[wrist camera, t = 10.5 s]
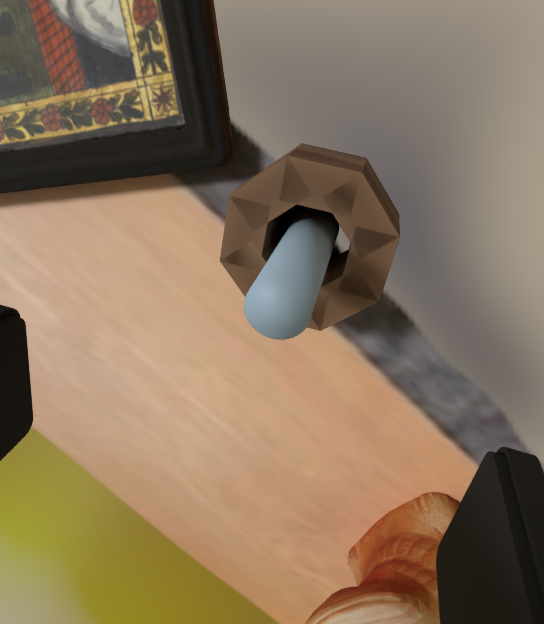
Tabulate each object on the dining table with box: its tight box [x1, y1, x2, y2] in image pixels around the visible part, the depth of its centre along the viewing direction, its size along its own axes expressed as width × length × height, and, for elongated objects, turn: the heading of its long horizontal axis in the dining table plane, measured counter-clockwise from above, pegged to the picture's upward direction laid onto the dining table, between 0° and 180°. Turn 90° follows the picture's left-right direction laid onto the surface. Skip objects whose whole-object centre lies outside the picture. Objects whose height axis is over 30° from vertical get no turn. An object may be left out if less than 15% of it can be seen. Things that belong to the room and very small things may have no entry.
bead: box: [220, 143, 400, 331], centre depth 29 cm, size 9×9×4 cm
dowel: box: [244, 207, 339, 340], centre depth 26 cm, size 3×3×12 cm
